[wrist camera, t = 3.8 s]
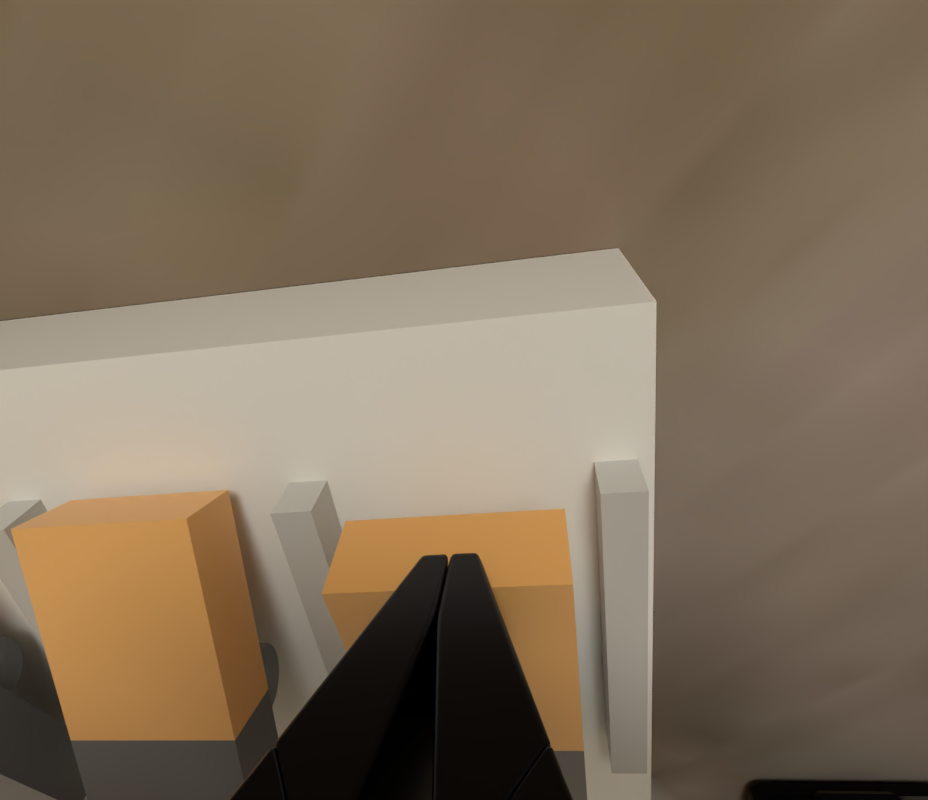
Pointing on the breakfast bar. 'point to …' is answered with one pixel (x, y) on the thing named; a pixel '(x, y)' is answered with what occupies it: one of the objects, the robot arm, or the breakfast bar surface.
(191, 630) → the block
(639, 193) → the breakfast bar surface
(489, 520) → the rocker
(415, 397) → the switch box
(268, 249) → the breakfast bar surface
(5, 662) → the block
